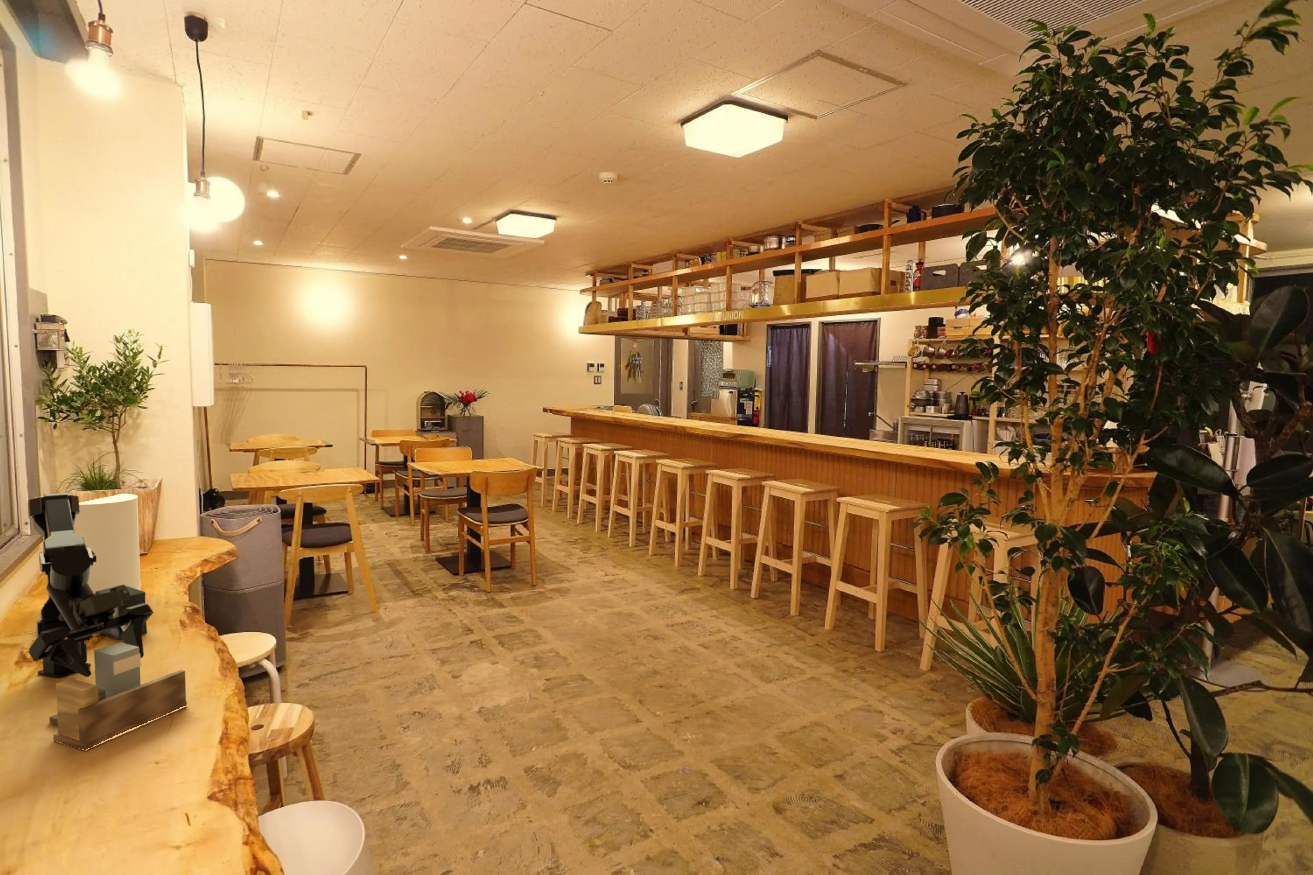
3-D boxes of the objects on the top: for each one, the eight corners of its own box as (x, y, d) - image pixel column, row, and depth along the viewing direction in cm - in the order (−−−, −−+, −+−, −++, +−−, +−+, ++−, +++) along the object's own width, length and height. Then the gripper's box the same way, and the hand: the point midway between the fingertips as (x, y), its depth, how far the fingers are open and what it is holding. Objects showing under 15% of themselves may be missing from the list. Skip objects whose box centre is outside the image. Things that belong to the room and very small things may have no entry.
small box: (94, 632, 170) (93, 590, 169) (125, 624, 176) (123, 583, 175) (117, 641, 165) (116, 598, 164) (148, 632, 171) (147, 591, 170)
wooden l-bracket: (85, 751, 118) (82, 693, 117) (26, 731, 123) (24, 676, 123) (186, 707, 134) (185, 655, 133) (131, 691, 140) (129, 642, 139)
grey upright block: (115, 713, 129) (113, 655, 128) (96, 707, 131) (93, 650, 130) (141, 702, 133) (140, 646, 132) (122, 697, 135) (120, 642, 134)
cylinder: (155, 589, 204) (152, 494, 201) (108, 608, 186) (104, 505, 184) (97, 587, 204) (93, 492, 202) (44, 606, 187) (40, 503, 184)
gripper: (36, 588, 123) (79, 660, 120) (145, 563, 140) (185, 625, 137) (10, 625, 126) (52, 695, 123) (120, 596, 144) (159, 657, 141)
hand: (116, 666), depth 131 cm, fingers open, 9 cm apart
